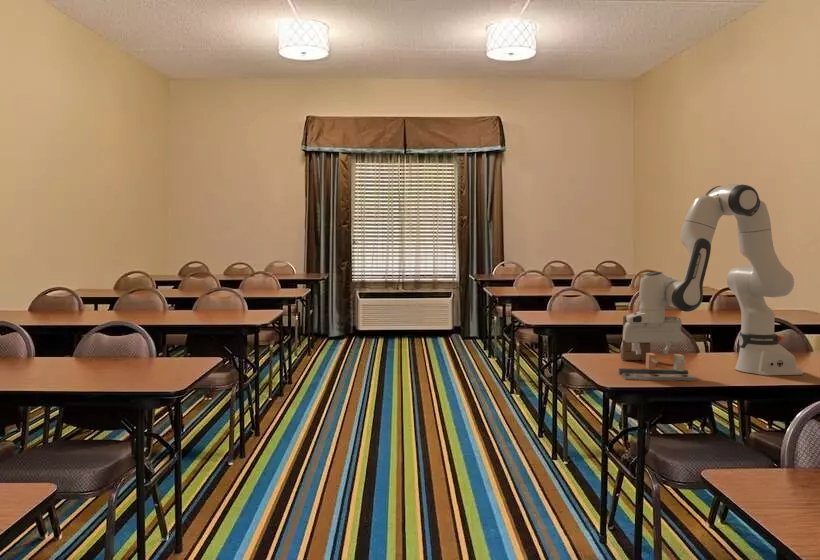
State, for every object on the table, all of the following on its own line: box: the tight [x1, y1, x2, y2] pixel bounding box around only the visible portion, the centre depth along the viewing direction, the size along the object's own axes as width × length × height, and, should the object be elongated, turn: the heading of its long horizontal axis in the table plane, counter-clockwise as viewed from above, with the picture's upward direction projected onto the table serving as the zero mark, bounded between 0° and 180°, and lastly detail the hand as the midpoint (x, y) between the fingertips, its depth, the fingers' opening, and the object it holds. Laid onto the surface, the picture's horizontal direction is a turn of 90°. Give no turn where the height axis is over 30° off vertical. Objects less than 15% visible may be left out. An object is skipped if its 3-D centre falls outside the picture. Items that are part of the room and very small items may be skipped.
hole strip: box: [621, 373, 697, 382], centre depth 249 cm, size 24×5×1 cm, turn 85°
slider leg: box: [645, 352, 658, 370], centre depth 253 cm, size 2×10×5 cm, turn 175°
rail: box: [618, 353, 689, 375], centre depth 253 cm, size 24×10×7 cm, turn 85°
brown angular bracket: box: [620, 314, 652, 362], centre depth 283 cm, size 4×11×18 cm, turn 84°
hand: (651, 354), depth 256 cm, fingers open, 8 cm apart
